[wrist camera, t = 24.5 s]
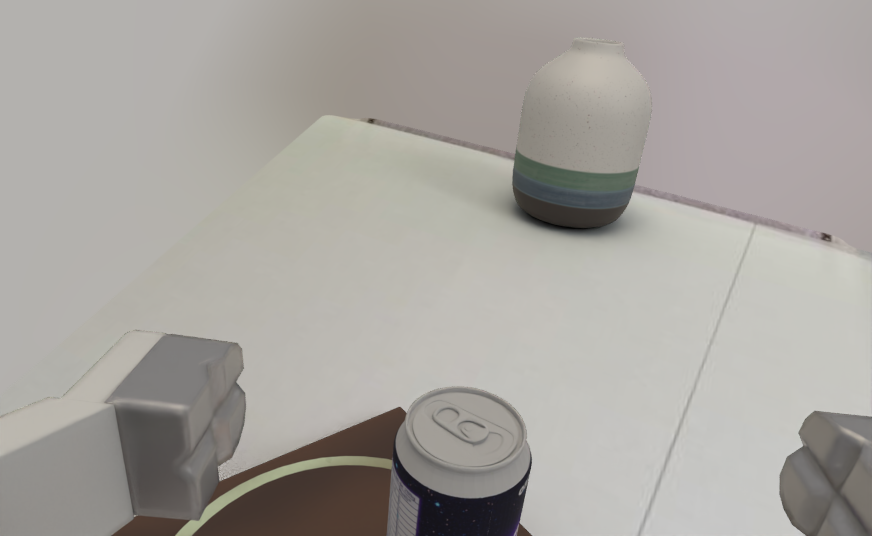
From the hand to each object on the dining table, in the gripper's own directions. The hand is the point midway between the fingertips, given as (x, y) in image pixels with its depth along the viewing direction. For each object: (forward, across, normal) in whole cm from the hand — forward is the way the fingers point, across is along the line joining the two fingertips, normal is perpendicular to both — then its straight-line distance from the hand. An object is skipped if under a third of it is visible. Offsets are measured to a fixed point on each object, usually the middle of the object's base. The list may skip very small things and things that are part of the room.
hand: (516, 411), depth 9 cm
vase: (+76, -15, +24) cm, 81 cm away
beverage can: (+12, 0, +23) cm, 26 cm away
